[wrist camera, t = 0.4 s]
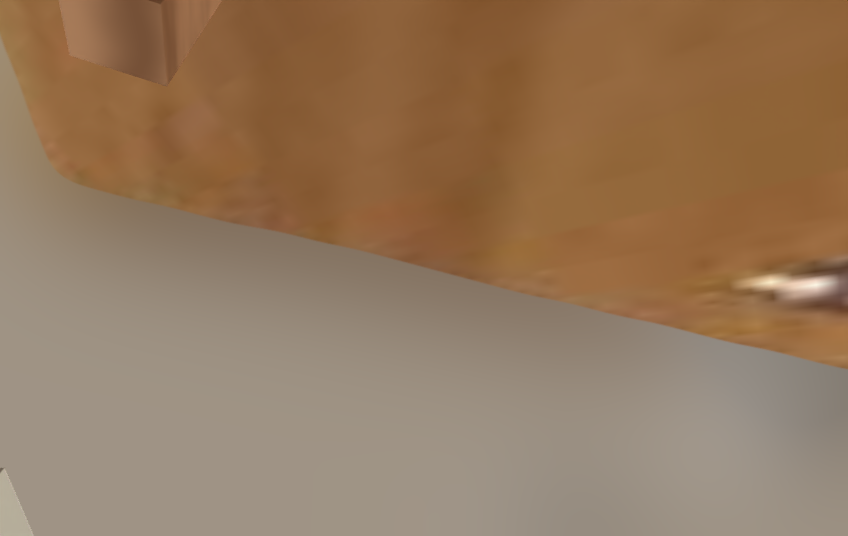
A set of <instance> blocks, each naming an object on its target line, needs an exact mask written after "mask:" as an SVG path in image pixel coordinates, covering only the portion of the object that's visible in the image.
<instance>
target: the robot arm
mask: <svg viewBox="0 0 848 536" xmlns="http://www.w3.org/2000/svg"><path fill="white" fill-rule="evenodd" d="M0 536H34V535H33V533H32V530H31V528H30V526H29V523H28V521H27V519H26V516H25V514H24V512H23V509H22V507H21V505H20V502H19V500H18V498H17V496H16V493H15V491H14V488H13V486H12V484H11V481H10V479H9V477H8V474H7V472H6V470H5V468H0Z"/></svg>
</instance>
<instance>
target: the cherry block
mask: <svg viewBox="0 0 848 536" xmlns="http://www.w3.org/2000/svg"><path fill="white" fill-rule="evenodd" d="M221 1H222V0H59V4H60V9H61V14H62V19H63V24H64V29H65V34H66V39H67V44H68V49H69V54H70V56H73V57H76V58H79V59H83V60H86V61H89V62H92V63H95V64H98V65H101V66H105V67H108V68H111V69H114V70H117V71H120V72H123V73H127V74H130V75H133V76H136V77H139V78H142V79H145V80H148V81H152V82H155V83H158V84H161V85H164V86H168V84H169V82H170V81H171V79H172V78H173V76H174V75H175V73H176V71H177V70H178V68H179V67H180V65H181V64H182V62H183V61H184V59H185V57H186V56H187V54H188V53H189V51H190V50H191V48H192V46H193V45H194V43H195V42H196V40H197V39H198V37H199V36H200V34H201V32H202V31H203V29H204V28H205V26H206V25H207V23H208V21H209V20H210V18H211V17H212V15H213V14H214V12H215V11H216V9H217V7H218V6H219V4H220V3H221Z"/></svg>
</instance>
